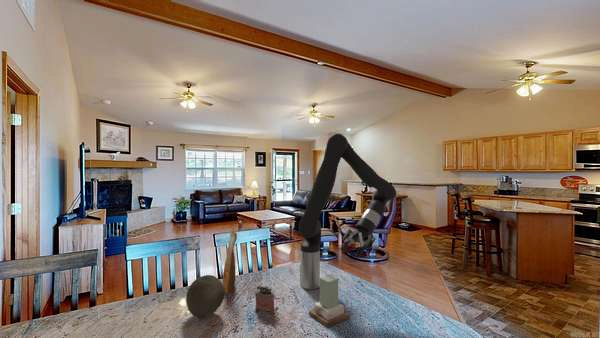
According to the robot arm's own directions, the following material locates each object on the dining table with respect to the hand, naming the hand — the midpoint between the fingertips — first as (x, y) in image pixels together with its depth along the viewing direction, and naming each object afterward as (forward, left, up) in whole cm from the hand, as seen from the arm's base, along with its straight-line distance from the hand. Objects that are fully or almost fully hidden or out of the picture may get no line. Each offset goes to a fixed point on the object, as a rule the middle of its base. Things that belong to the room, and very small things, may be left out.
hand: (349, 253), depth 117 cm
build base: (0, -11, -22) cm, 25 cm away
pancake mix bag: (-49, -31, -22) cm, 62 cm away
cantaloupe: (-29, -49, -22) cm, 61 cm away
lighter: (-18, -29, -22) cm, 41 cm away
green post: (0, -11, -18) cm, 21 cm away
